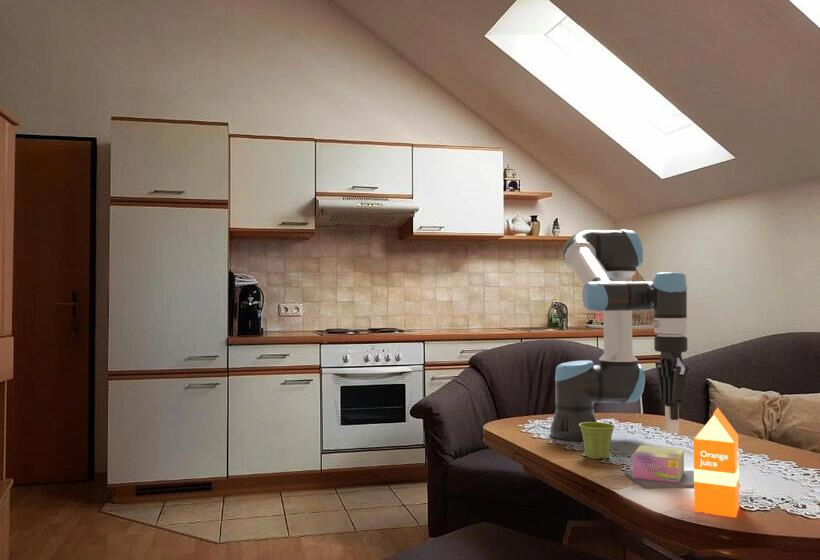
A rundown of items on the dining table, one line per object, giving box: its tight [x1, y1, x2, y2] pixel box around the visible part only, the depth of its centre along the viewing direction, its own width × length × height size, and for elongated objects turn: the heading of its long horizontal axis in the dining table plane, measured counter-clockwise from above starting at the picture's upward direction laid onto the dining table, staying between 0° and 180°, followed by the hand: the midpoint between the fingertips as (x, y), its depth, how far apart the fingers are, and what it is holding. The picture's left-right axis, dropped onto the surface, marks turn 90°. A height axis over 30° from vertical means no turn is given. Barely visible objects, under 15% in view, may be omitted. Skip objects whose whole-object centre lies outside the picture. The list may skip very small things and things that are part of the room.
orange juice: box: [693, 407, 740, 518], centre depth 135 cm, size 8×9×20 cm
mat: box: [624, 470, 741, 489], centre depth 156 cm, size 12×22×1 cm, turn 93°
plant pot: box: [579, 421, 616, 460], centre depth 180 cm, size 9×9×9 cm
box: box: [631, 444, 685, 484], centre depth 158 cm, size 10×6×12 cm
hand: (672, 432), depth 160 cm, fingers closed
